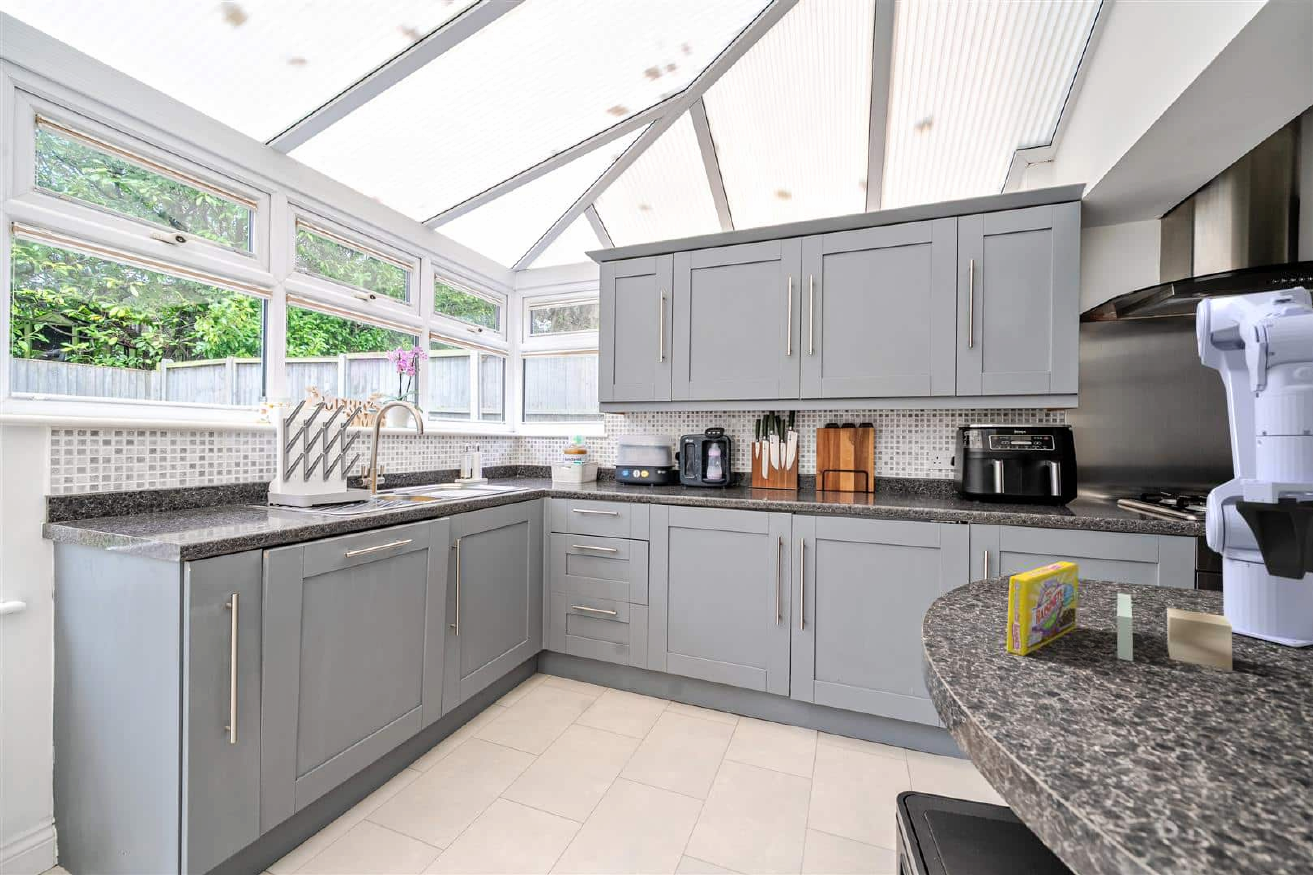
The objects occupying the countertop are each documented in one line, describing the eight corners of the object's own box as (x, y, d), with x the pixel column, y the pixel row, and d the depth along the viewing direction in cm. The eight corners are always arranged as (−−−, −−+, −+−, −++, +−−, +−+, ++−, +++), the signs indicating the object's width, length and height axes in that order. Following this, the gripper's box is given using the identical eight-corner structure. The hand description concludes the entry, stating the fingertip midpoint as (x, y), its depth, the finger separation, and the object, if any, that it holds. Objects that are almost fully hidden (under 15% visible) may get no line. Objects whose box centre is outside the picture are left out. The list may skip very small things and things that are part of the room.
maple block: (1225, 658, 57) (1225, 616, 57) (1232, 671, 54) (1231, 626, 54) (1167, 647, 60) (1166, 607, 60) (1170, 659, 57) (1169, 616, 57)
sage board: (1131, 632, 65) (1130, 594, 65) (1132, 661, 56) (1132, 617, 56) (1118, 630, 66) (1117, 593, 66) (1117, 658, 57) (1117, 615, 57)
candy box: (1027, 658, 57) (1027, 580, 57) (1005, 652, 58) (1004, 576, 58) (1079, 629, 66) (1078, 562, 66) (1058, 625, 68) (1058, 559, 68)
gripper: (1281, 438, 59) (1284, 562, 58) (1201, 436, 54) (1203, 571, 54) (1385, 437, 52) (1388, 577, 52) (1304, 434, 47) (1307, 588, 47)
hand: (1301, 575), depth 52 cm, fingers open, 5 cm apart
